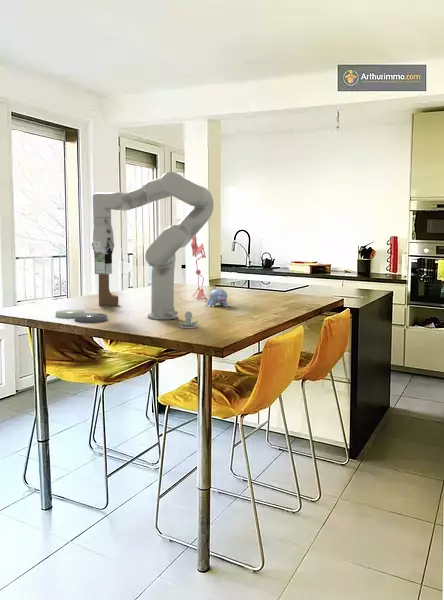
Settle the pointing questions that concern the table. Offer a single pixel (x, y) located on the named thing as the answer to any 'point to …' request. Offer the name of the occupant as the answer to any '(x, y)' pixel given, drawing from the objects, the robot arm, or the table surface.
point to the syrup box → (101, 260)
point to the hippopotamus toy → (217, 297)
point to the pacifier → (188, 321)
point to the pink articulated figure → (194, 250)
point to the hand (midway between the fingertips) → (103, 262)
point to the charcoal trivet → (90, 317)
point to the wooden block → (106, 292)
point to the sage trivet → (68, 313)
